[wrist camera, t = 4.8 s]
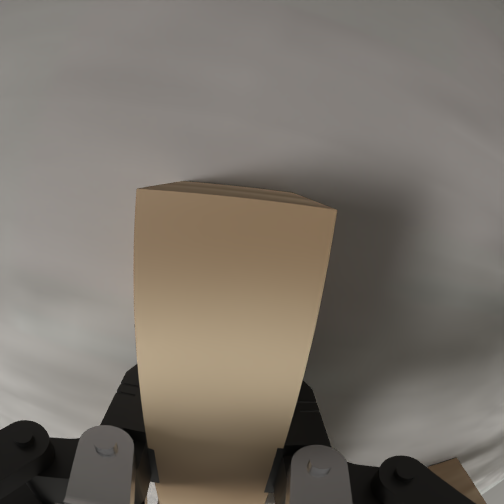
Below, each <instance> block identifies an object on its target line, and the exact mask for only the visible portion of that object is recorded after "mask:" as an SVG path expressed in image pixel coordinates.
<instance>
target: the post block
mask: <svg viewBox="0 0 504 504" xmlns="http://www.w3.org/2000/svg"><path fill="white" fill-rule="evenodd" d="M428 469H429V470H431V471H432V472H433V473H435V474H436V475H437V476H439V477H440V478H441V479H443V480H444V481H445V482H447V483H448V484H449V485H451V486H452V487H454V488H455V489H456V490H458V491H459V492H460V493H462V494H463V495H465V496H466V497H467V498H469V499H470V500H472V501H473V502H474V503H476V504H486V502H485V501H484V499H483V497H482V496H481V494H480V493H479V491H478V490H477V488H476V486H475V485H474V483H473V482H472V480H471V479H470V477H469V476H468V474H467V473H466V471H465V470H464V468H463V467H462V465H461V464H460V462H459V461H458V459H457V458H454V459H451V460H448V461H445V462H442V463H439V464H435V465H432V466H429V467H428Z"/></svg>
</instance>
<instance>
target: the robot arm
mask: <svg viewBox="0 0 504 504" xmlns="http://www.w3.org/2000/svg"><path fill="white" fill-rule="evenodd" d="M150 481H151V482H156V483H160V481H159V476H158V470H157V464H156V458H155V452H154V450H153V449H150V448H148V444H147V438H146V432H145V425H144V418H143V411H142V403H141V394H140V385H139V375H138V364H136V365H135V366H134V367H132V368H131V369H130V370H128V371H127V372H126V374H125V376H124V378H123V380H122V382H121V384H120V386H119V388H118V390H117V393H116V394H115V396H114V398H113V400H112V402H111V404H110V406H109V408H108V410H107V412H106V414H105V416H104V418H103V420H102V423H101V425H100V426H95V427H92V428H90V429H88V430H87V431H85V432H84V433H83V434H82V435H81V437H80V438H78V439H64V438H50V437H49V435H48V433H47V431H46V430H45V429H44V427H42V426H41V425H40V424H38V423H36V422H33V421H27V420H22V421H17V422H14V423H12V424H10V425H8V426H7V427H5V428H3V429H1V430H0V504H147V492H148V488H149V483H150ZM273 492H274V497H275V504H476V503H474V502H473V501H472V500H470V499H469V498H467V497H466V496H465V495H463V494H462V493H460V492H459V491H458V490H456V489H455V488H454V487H452V486H451V485H449V484H448V483H447V482H445V481H444V480H443V479H441V478H440V477H439V476H437V475H436V474H435V473H433V472H432V471H431V470H429V469H428V468H427V467H426V466H424V465H423V464H422V463H420V462H419V461H418V460H416V459H414V458H411V457H408V456H394V457H391V458H388V459H387V460H385V461H384V462H383V463H382V464H381V466H380V467H372V466H364V465H356V464H352V463H349V462H347V461H346V459H345V458H344V456H343V455H342V454H341V453H340V452H338V451H337V450H335V449H333V448H331V445H330V442H329V439H328V436H327V433H326V430H325V427H324V424H323V421H322V418H321V415H320V412H319V409H318V406H317V403H316V400H315V396H314V393H313V390H312V389H311V388H310V387H309V386H308V385H307V384H306V383H305V382H304V381H303V380H302V384H301V388H300V392H299V396H298V399H297V403H296V407H295V410H294V414H293V417H292V421H291V424H290V428H289V431H288V434H287V438H286V441H285V444H284V447H283V448H277V451H276V455H275V458H274V461H273V465H272V468H271V471H270V474H269V478H268V481H267V484H266V487H265V490H264V493H273Z"/></svg>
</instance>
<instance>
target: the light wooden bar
mask: <svg viewBox="0 0 504 504" xmlns="http://www.w3.org/2000/svg"><path fill="white" fill-rule="evenodd" d="M336 214H337V210H336V209H333V208H331V207H328V206H326V205H323V204H321V203H318V202H316V201H313V200H310V199H308V198H305V197H303V196H300V195H297V194H295V193H291V192H283V191H275V190H267V189H259V188H250V187H241V186H231V185H222V184H211V183H200V182H188V181H181V182H174V183H168V184H162V185H156V186H150V187H144V188H138V189H137V191H136V207H135V227H134V316H135V336H136V351H137V364H138V375H139V385H140V394H141V403H142V411H143V418H144V425H145V432H146V438H147V444H148V448H150V449H153V450H154V452H155V458H156V464H157V470H158V476H159V481H160V483H156V482H155V486H156V490H157V495H158V504H265V501H266V499H267V496H268V493H264V490H265V487H266V484H267V481H268V478H269V474H270V471H271V468H272V465H273V461H274V458H275V455H276V451H277V448H283V447H284V444H285V441H286V438H287V434H288V431H289V428H290V424H291V421H292V417H293V414H294V410H295V407H296V403H297V399H298V396H299V392H300V388H301V384H302V380H303V377H304V373H305V369H306V365H307V361H308V356H309V352H310V348H311V344H312V340H313V335H314V331H315V326H316V322H317V317H318V313H319V308H320V303H321V298H322V293H323V288H324V283H325V278H326V273H327V267H328V262H329V256H330V251H331V245H332V239H333V233H334V227H335V221H336Z"/></svg>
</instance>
